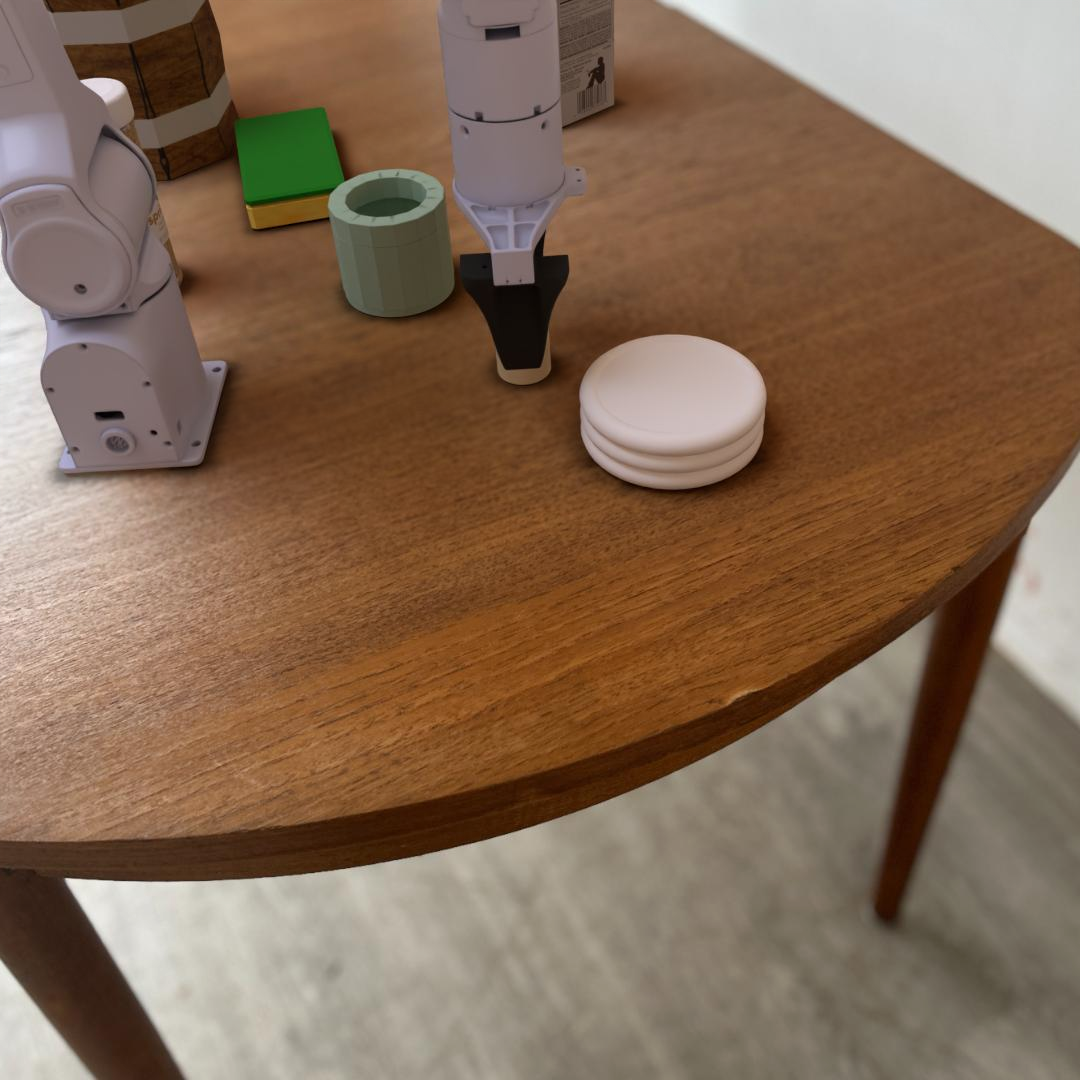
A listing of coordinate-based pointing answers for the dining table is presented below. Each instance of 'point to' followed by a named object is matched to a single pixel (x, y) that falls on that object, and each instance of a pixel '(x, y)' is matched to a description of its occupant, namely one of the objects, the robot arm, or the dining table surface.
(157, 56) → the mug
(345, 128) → the dining table surface
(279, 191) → the dish sponge
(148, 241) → the robot arm
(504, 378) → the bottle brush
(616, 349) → the white stacked discs
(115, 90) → the sprinkles bottle
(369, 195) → the jar
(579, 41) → the coffee box
